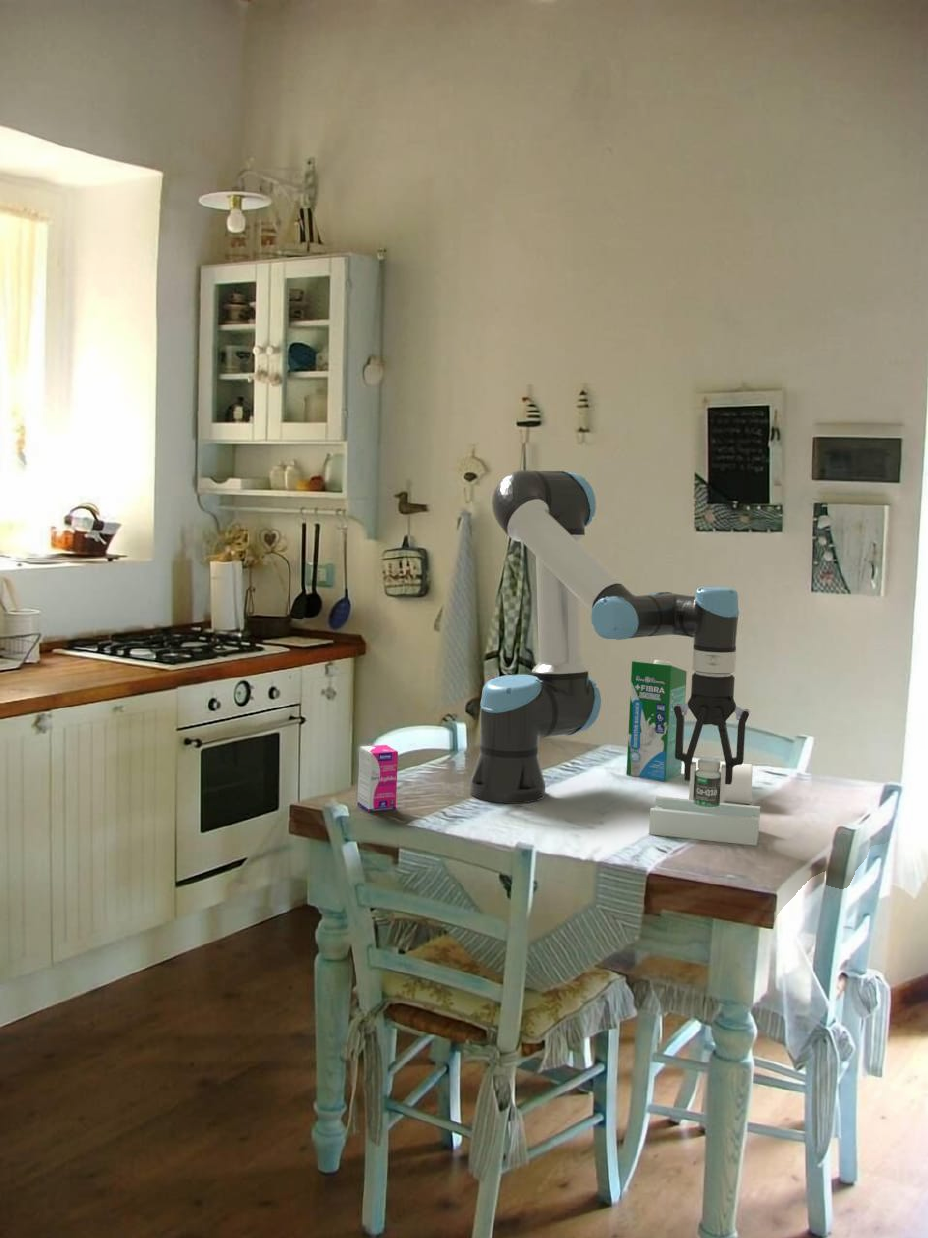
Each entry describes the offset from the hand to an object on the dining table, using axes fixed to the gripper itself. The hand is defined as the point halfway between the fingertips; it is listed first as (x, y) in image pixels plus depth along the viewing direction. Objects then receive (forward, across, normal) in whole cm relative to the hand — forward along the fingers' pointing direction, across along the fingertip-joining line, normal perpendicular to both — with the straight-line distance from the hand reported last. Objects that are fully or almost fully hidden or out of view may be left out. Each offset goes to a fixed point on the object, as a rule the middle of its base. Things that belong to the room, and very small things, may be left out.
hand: (706, 799), depth 225 cm
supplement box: (+6, -61, -6) cm, 62 cm away
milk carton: (+6, -14, +41) cm, 43 cm away
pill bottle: (+1, 0, 0) cm, 1 cm away
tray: (+6, 0, 0) cm, 6 cm away
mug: (+6, +2, +26) cm, 26 cm away
